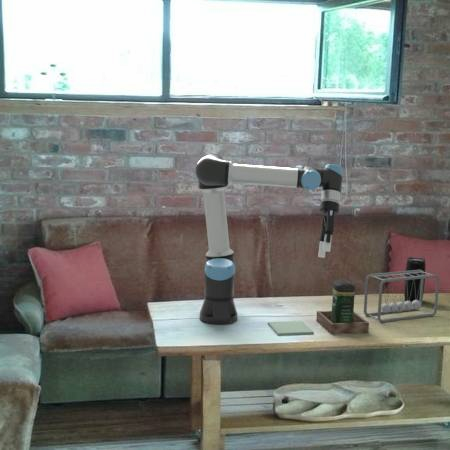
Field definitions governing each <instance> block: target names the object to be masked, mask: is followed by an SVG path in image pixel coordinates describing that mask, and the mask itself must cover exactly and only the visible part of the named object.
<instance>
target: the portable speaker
mask: <svg viewBox="0 0 450 450" xmlns="http://www.w3.org/2000/svg"><path fill="white" fill-rule="evenodd" d="M406 259H407V261H406V266H405V271H410V270H422V271H423V272H426V259H425V258H423V257H413V256H410V257H407V258H406ZM411 275H412V276H421V273H411V274H409V275H408V274H407V276H406V274H404V277H411ZM424 275H426V273H424ZM420 281H421V279H415V284H414V281H413V280H404V283H403V284H404V286H403V287H404V288H405V290H404V288H403V292H404V294H403V298H404V299H403V300H404V302H406V301H408V300H409V298H410V300H409V301H410V302H413V301H414V300H418V301H420V288H419V286H420V287H421V283H420ZM425 282H426V278H424V284H423V294H424V292H425V285H426V283H425ZM405 283H406V285H405ZM412 284H413V286H412ZM407 288H408V295H407ZM411 289H412V291H411ZM415 291H416V296H415ZM418 292H419V294H418ZM410 294H411V295H410ZM417 297H418V299H417ZM423 298H424V296H423V297H422V301H423Z"/></svg>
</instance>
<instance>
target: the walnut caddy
mask: <svg viewBox="0 0 450 450" xmlns="http://www.w3.org/2000/svg"><path fill="white" fill-rule="evenodd" d="M331 313H332V310H317V311H316V319H315V321H316V322H317V323H318V324H319V325H320V326H322V328H323V329H325V330H326V331H327V332H328V333H329V335H349V334H350V335H352V334H368V333H369V330H370V322H369V321H367V320H366V319H365V318H364V317H362V316H361V315H359V313H357V312H356V311H354V312H353V323H332V322H331Z"/></svg>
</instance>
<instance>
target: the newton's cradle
mask: <svg viewBox="0 0 450 450" xmlns="http://www.w3.org/2000/svg"><path fill="white" fill-rule="evenodd" d="M411 273H421V276H412V275H411V277H405V276H401V275H405V274H406V276H407V274H408V275H409V274H411ZM424 273H425V275H424ZM388 276H391V277H388ZM400 276H401V277H400ZM380 277H383V278H380ZM386 277H387V278H386ZM370 278H376V279H378V280H381V281H380V283H379V287H378V288H379V293H378V304H377V305H378V306H377V311H376V312H367V311H368V310H367V309H368V308H367V307H368V292H369V291H368V290H369V279H370ZM424 278H425V279H430V278H431V279H433V278H435V280H436V281H435V294H434V307H433V312H432V313H429V312H427V311H424V310H423V309H421V308H422V306H423V300H422V297H423V298H424V293H423V284H424ZM415 279H421V281H420V283H421V287H420V286H419V288H420V301H418V300H414V301H409V300H410V298H409V300H408V301H404V302H403V300H404V299H403V298H404V296H402V298H401V295H399V298H400V299H399V300H400V301H398V302H396V297H397V295H395V296H394V299H393V301H392V302H391V303H388V299H389V298H386V297H384V299H385V303H383V304H382V302H383V301H382V299H383V286H384V287H386V285H385V284H386V283H389V282H390V283H389V287H391V288H388V292H390V290H392V291H391V292H392V295H394V291H393V286H392V283H393V282H397V284H398V285H397V287H396V289H398V287H399V285H401V281H405V280H413V281H414V284H415ZM364 284H365V286H364V300H363V301H364V302H363V313H364V315H365V316H366V317H371V318H373V319H376V320H377V321H378V322H379V323H389V322H395V321H404V320H405V319H406V320H411V319H412V320H413V319H420V318H429V317H434V316H435V315H436V314H437V311H438V303H439V301H438V300H439V288H440V277H439V275H437V274H432V273H428V272H426V271H425V272H423V271H422V270H410V271H406V270H402V271H401V270H400V271H391V272H380V273H378V272H377V273H370V274H368V275H367V276H366V277H365V282H364ZM404 284H405V285H406V283H405V282H404ZM424 285H425V284H424ZM412 286H413V284H412ZM404 290H405V288H403V293H402V295H404ZM411 291H412V289H411ZM397 293H398V290H396V291H395V294H397ZM389 294H390V293H388V296H387V297H389ZM418 294H419V292H418ZM407 295H408V288H407ZM410 295H411V294H410ZM415 296H416V291H415ZM417 299H418V297H417ZM412 310H414V311H420V312H423V313H425V314H417V315H408V316H401V317H392V318H386V319H385V318H384V319H382V318H381V316H382V315H389V314H396V312H397V313H405V312H412ZM388 313H389V314H388ZM375 316H377V317H375Z"/></svg>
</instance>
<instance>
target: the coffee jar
mask: <svg viewBox="0 0 450 450" xmlns="http://www.w3.org/2000/svg"><path fill="white" fill-rule="evenodd" d="M355 295H356V285H355V284H354V283H352V282H351V281H349V280H348V279H343V278H341V279H340V278H339V279H338V278H337V279H335V280H334V281H333V282H332V300H331V301H332V303H331V311H332V313H331V322H332V323H353V312H355V311H354V310H355V309H354V307H355Z"/></svg>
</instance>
